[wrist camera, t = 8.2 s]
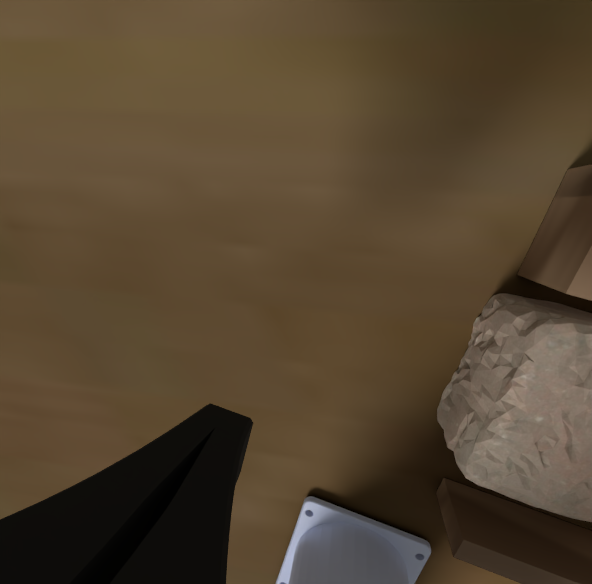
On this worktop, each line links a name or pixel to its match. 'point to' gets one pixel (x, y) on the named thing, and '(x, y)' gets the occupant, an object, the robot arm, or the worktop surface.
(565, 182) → the tunnel
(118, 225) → the worktop surface
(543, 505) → the brick
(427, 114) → the worktop surface
